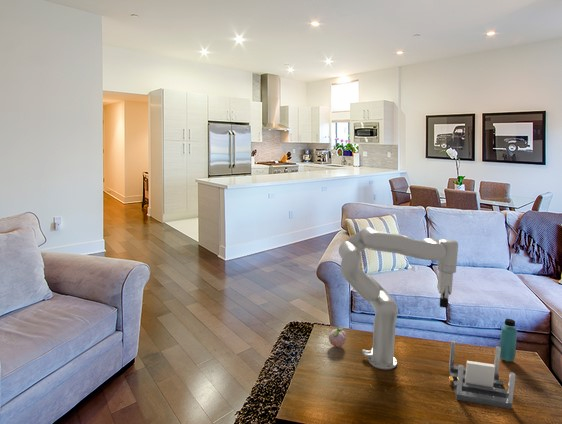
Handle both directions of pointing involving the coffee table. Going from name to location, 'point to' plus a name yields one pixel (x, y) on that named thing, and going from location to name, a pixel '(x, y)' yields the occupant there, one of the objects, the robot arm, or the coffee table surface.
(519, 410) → the coffee table surface
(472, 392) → the rack
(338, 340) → the decorative fruit
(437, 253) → the robot arm
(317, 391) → the coffee table surface
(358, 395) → the coffee table surface
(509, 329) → the beverage bottle
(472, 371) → the block
